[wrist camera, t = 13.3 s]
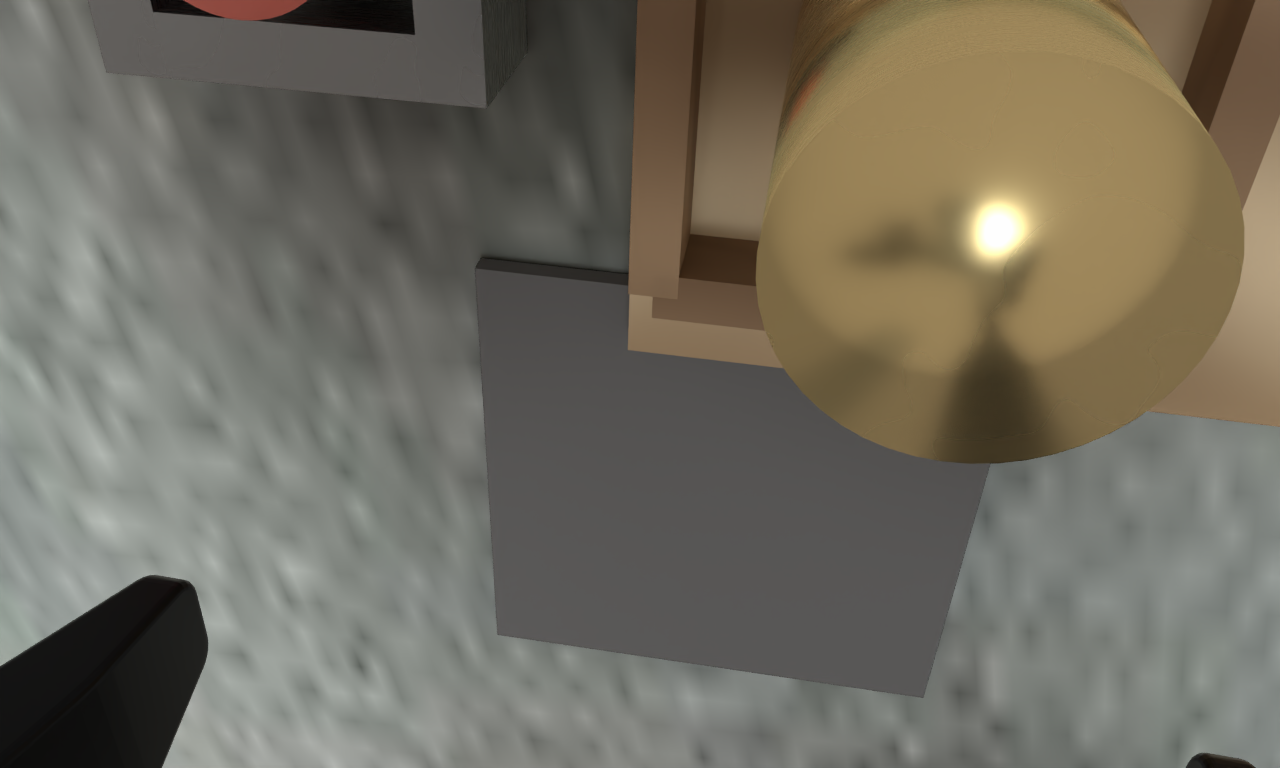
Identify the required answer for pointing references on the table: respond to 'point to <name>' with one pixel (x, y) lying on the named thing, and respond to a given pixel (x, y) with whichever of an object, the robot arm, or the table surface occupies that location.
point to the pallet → (744, 150)
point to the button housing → (325, 46)
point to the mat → (700, 501)
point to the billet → (990, 225)
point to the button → (247, 8)
